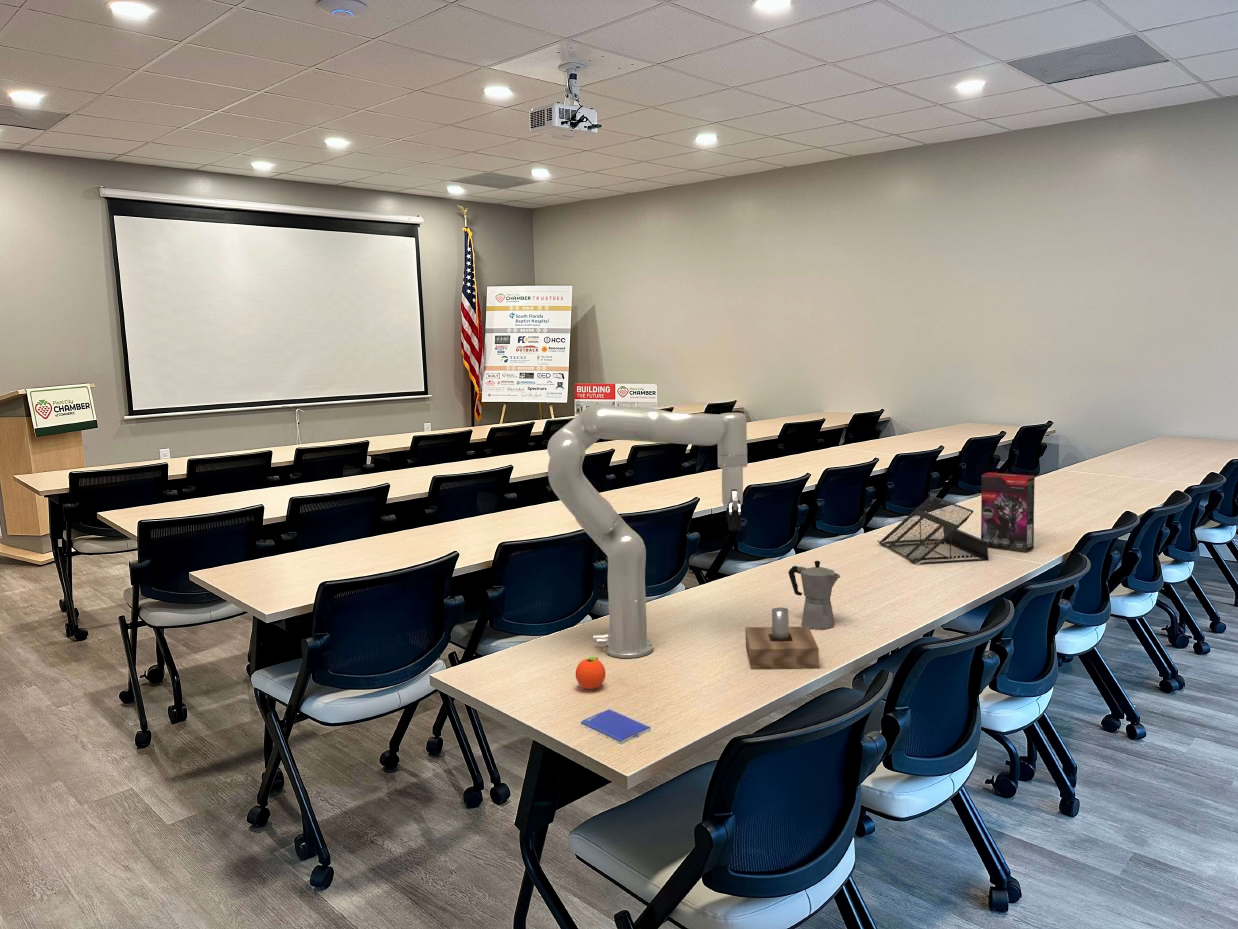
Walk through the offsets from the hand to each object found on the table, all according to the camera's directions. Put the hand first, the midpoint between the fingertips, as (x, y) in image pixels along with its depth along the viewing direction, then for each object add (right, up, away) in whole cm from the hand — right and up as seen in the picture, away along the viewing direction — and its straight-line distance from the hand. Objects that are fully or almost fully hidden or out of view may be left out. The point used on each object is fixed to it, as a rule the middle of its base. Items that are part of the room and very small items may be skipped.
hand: (733, 526), depth 217 cm
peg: (+10, -32, -11) cm, 35 cm away
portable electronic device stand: (+84, -17, +88) cm, 122 cm away
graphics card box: (+112, -15, +88) cm, 143 cm away
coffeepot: (+24, -28, +13) cm, 39 cm away
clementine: (-36, -36, -25) cm, 56 cm away
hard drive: (-31, -39, -46) cm, 68 cm away
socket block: (+10, -32, -11) cm, 35 cm away
